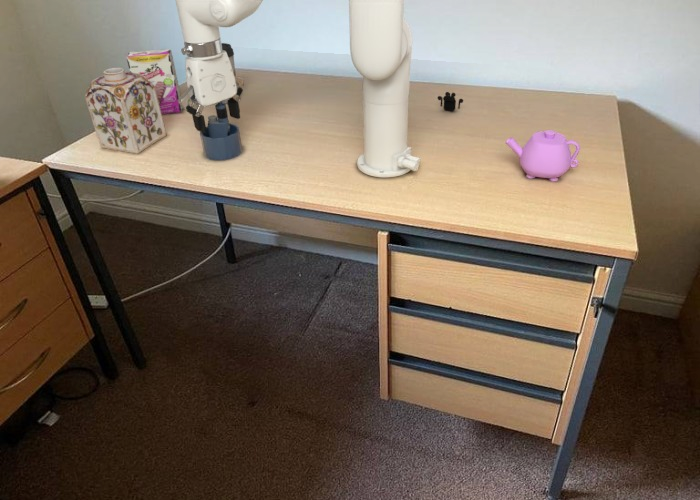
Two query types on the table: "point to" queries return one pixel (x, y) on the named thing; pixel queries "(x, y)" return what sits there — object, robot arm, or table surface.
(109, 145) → the decorative jar
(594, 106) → the table surface
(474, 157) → the table surface
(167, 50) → the candy bar box
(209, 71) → the robot arm
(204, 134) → the pen cup
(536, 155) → the teapot
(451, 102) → the wireless earbuds
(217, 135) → the vaping device
